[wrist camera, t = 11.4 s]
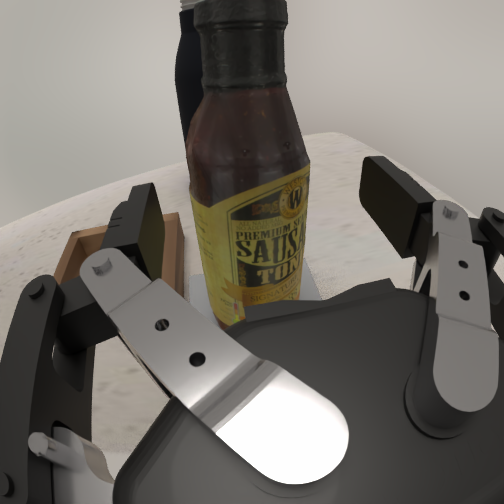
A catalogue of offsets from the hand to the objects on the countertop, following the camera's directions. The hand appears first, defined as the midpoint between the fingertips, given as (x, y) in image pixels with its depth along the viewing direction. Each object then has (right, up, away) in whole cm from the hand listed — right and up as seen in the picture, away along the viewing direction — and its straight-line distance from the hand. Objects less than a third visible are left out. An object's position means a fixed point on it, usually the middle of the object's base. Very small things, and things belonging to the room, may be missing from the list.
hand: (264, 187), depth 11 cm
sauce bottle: (0, -7, +11) cm, 13 cm away
